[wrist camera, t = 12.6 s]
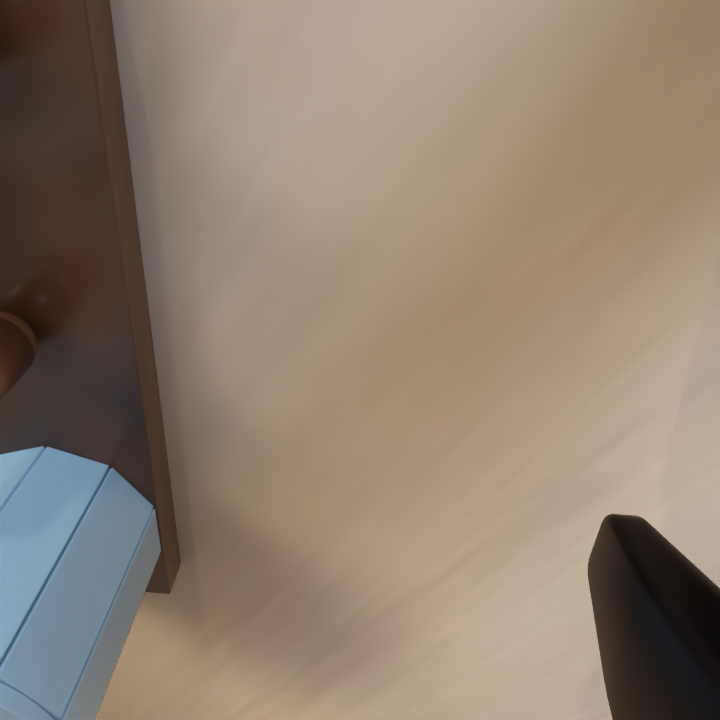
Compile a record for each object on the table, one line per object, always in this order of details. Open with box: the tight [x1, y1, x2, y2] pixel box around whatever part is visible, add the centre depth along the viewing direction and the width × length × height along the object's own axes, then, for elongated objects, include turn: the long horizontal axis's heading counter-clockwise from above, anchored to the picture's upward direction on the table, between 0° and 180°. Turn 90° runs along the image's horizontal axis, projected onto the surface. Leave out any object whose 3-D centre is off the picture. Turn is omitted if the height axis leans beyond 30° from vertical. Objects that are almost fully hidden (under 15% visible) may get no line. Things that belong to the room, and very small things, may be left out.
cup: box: [0, 446, 161, 720], centre depth 20 cm, size 7×7×8 cm
